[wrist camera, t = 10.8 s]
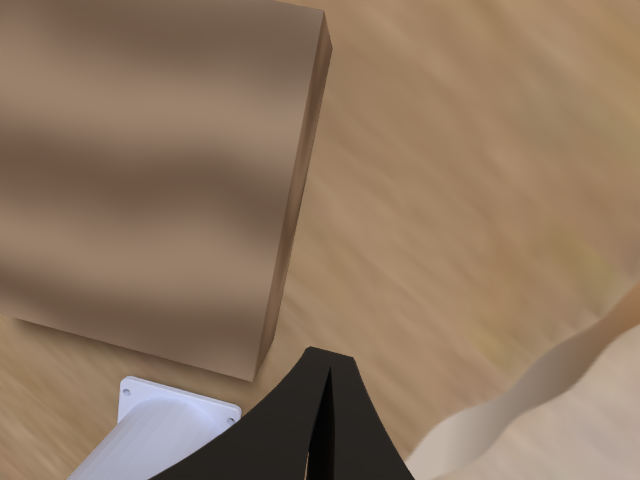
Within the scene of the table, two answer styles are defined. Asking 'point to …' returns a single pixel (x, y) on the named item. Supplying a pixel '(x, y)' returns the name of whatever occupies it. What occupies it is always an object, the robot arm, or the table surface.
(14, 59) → the plate
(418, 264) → the table surface
